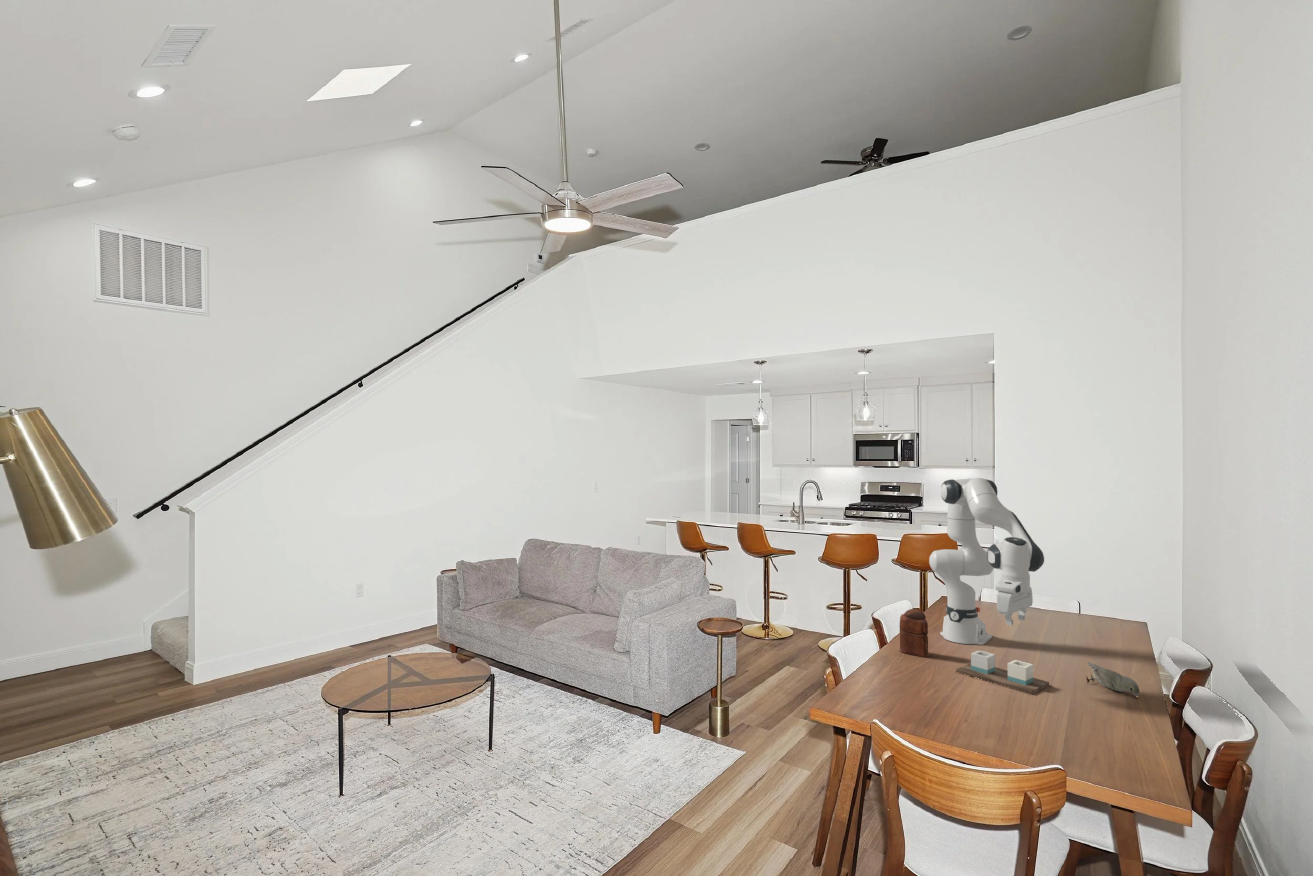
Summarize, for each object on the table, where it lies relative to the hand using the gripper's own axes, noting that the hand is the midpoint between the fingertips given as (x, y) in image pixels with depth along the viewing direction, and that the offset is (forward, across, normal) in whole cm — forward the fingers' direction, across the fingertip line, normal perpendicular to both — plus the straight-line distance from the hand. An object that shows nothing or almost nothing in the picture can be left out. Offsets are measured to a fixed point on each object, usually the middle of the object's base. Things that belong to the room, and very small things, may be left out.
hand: (1015, 622), depth 222 cm
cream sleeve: (+20, +1, +2) cm, 20 cm away
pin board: (+21, +1, -4) cm, 22 cm away
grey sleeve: (+20, +1, -11) cm, 23 cm away
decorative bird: (+22, -19, +23) cm, 37 cm away
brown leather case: (+22, 0, -38) cm, 44 cm away
